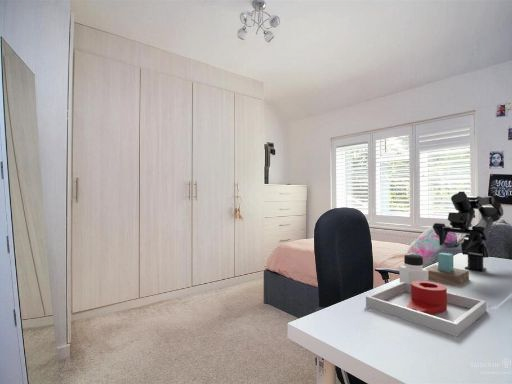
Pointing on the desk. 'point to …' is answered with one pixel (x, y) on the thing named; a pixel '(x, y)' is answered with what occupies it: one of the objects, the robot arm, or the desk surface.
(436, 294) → the red oval ring
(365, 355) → the desk surface
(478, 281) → the desk surface
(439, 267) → the plug
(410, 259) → the medicine bottle
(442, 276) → the brown flat block
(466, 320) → the tray
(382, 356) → the desk surface
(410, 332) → the desk surface
